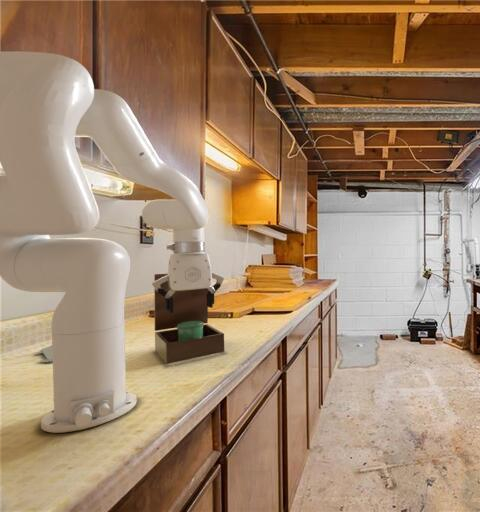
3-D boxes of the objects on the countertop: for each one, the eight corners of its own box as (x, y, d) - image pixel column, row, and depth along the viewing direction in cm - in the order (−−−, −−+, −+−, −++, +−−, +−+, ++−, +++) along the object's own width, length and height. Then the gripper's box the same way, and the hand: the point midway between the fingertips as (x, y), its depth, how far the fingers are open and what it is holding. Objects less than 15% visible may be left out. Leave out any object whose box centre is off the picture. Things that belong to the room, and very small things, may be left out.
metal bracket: (96, 323, 100) (108, 330, 91) (103, 339, 101) (116, 348, 92) (32, 346, 89) (38, 357, 80) (41, 364, 90) (48, 377, 81)
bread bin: (224, 354, 88) (224, 333, 88) (166, 366, 79) (166, 344, 79) (207, 342, 99) (207, 324, 99) (155, 352, 90) (154, 332, 90)
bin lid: (208, 271, 98) (207, 271, 98) (154, 274, 88) (154, 273, 89) (207, 323, 99) (206, 322, 100) (155, 331, 89) (154, 330, 90)
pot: (206, 351, 88) (206, 323, 88) (180, 357, 83) (179, 327, 83) (200, 346, 93) (199, 319, 92) (174, 351, 88) (174, 323, 88)
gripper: (153, 249, 79) (155, 316, 79) (226, 248, 91) (228, 307, 91) (148, 248, 84) (150, 312, 85) (218, 248, 96) (219, 303, 97)
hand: (190, 309), depth 88 cm, fingers open, 9 cm apart
